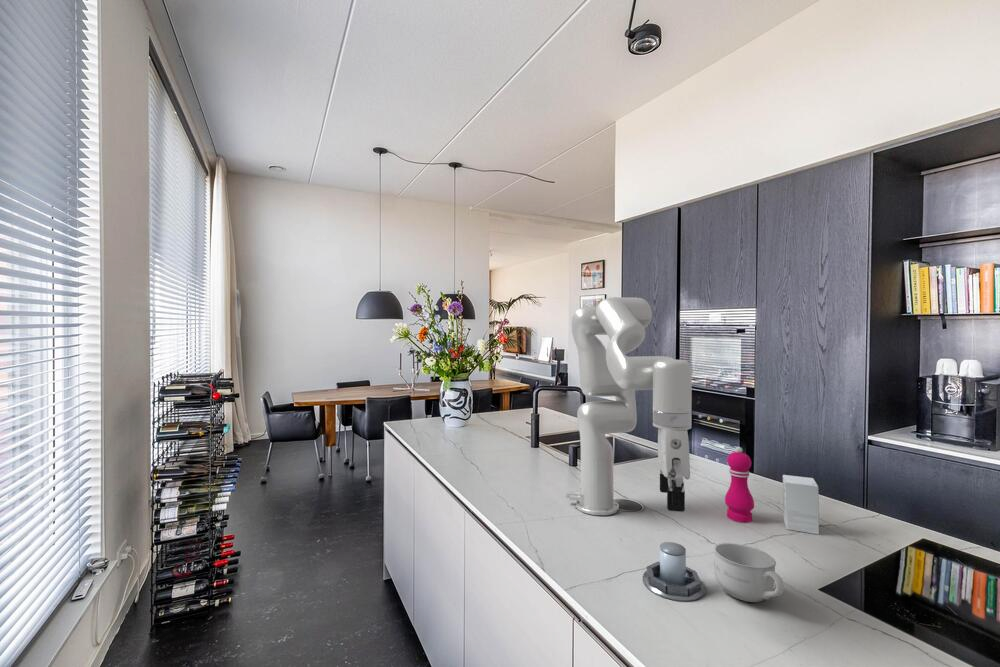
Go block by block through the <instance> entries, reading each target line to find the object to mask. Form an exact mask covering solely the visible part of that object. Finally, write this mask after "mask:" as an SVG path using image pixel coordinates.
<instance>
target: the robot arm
mask: <svg viewBox="0 0 1000 667" xmlns="http://www.w3.org/2000/svg"><path fill="white" fill-rule="evenodd" d="M651 308H652V307H651V305H650V304H649V302H648V301H647V300H646V299H644V298H641V297H635V296H634V297H626V296H625V297H624V296H623V297H617V296H616V297H615V296H614V297H608V298H605V299H603V300H601V301H600V302H599V303H598V304H597V306H595V305H594V306H593V305H592V306H584V307H580V308H578V309H576V310H575V311H574V312H573V313H572V316H571V323H570V324H571V333H572V337H573V341H574V344H575V346H576V349H577V354H578V370H579V371H578V372H579V383H580V389H581V392H582V394H583V395H584V396H586V397H592V398H593V397H594V398H597V397H599V398H600V397H604V398H605V397H614V398H615V400H599V401H598V400H597V401H595V400H594V401H587V402H585V403H584V402H583V403H582V404H581V405H580V406H579V407H578V409H577V412H576V414H577V415H576V417H577V418H576V419H577V424H578V430H579V440H580V441H579V442H580V488H579V490H576V491H571V490H566V491H565V497H566V498H569V501H575V508H577V509H578V511H580V512H582V513H584V514H588V515H592V516H610V515H614V514H617V513H618V511H619V510H620V504H619V503H618V502H617V501H616V500H615V499H614V494H615V493H614V489H615V488H614V448H613V446H612V444H611V442H610V441H609V439H607V437H606V436H605V435H609V434H623V433H630V432H632V431H633V430H635V428H636V426H637V422H638V421H637V419H638V418H637V417H638V415H637V403H636V402H637V401H636V391H646V390H647V391H652V426H653V427H655V428H657V429H658V430H657V457H658V458H657V460H658V466H659V468H660V469H659V470H660V473H659V491H660V493H666V509H667V510H668V511H669V512H681V513H682V512H683V513H684V512H685V509H686V507H685V506H686V505H685V503H686V501H685V500H686V491H685V490H686V489H685V482H684V479H685V480H690V478H691V465H690V464H691V463H690V444H689V443H690V442H689V441H690V440H689V434H688V430H691V429H692V404H693V403H692V399H693V398H692V397H693V396H692V394H693V392H692V390H693V389H692V387H693V386H692V385H693V384H692V383H693V381H692V378H693V377H692V376H693V375H692V373H693V369H692V365H691V363H690V362H689V361H687V360H684V359H674V358H673V357H671V356H667V355H666V356H665V355H664V356H663V355H662V356H661V355H659V356H658V355H655V356H653V355H651V356H650V355H648V356H647V355H645V356H643V355H642V356H639V355H637V356H636V355H635V356H627V355H626V354H628V353H630V352H632V351H634V350H636V349H637V348H639V347H640V345H642V344H643V342H644V341H645V340H644V339H645V337H646V330H645V329H646V327H648V325H649V324H651V323H650V322H651V320H652V315H653V314H652V309H651ZM597 335H599V336H600V335H601V336H603V335H604V336H606V335H607V336H608V338H609V342H608V344H607V347H605V345H604V343H603V342H602V340H600V338H598V337H597Z"/></svg>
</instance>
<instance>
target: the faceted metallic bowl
mask: <svg viewBox="0 0 1000 667" xmlns="http://www.w3.org/2000/svg"><path fill="white" fill-rule="evenodd" d="M642 582H643V584H644V586H645V587H646V589H647V590H648V591H650V592H651V593H653V594H655V595H656V596H659V597H661V598H664V599H667V600H670V601H676V602H693V601H697V600H699V599H701V598H703V596H705V593H706V587H705V584H704V582H702V580H701V579H700V576H699V574H698V572H697V571H696V570H694V569H693V568H690V567H688V566H686V586H680V585H671V584H667V583H665V582H663V581H661V580H660V560H659V561H656V562H654V563H652V564H649V565H647V566H646V570H645V571H644V572H643V574H642Z"/></svg>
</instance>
